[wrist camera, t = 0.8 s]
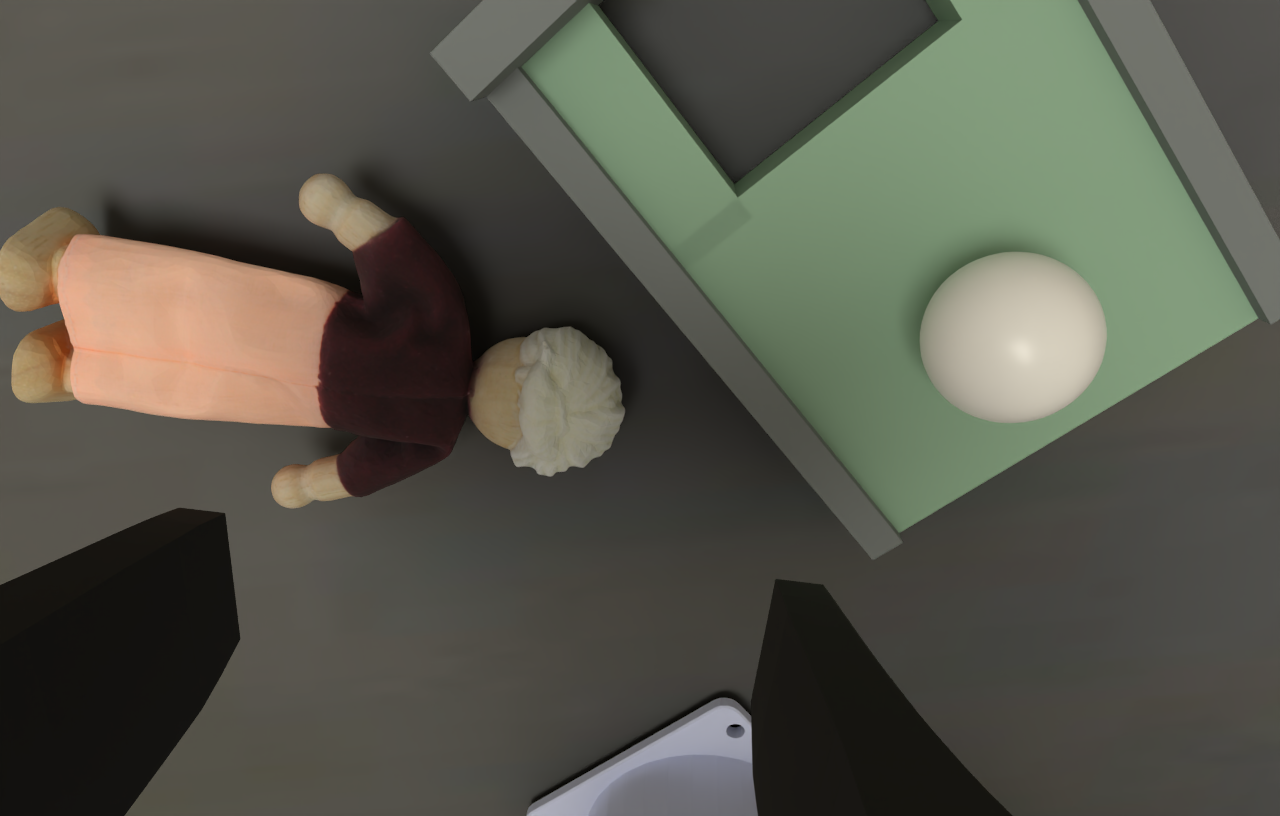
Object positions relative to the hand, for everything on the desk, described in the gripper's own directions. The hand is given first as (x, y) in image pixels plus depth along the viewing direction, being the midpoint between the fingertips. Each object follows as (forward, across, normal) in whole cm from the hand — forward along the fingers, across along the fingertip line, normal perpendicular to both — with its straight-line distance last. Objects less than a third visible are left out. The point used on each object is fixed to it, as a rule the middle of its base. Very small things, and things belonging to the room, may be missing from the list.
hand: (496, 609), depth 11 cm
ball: (+6, -8, -2) cm, 11 cm away
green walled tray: (+10, -6, -5) cm, 12 cm away
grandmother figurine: (+8, +12, -1) cm, 14 cm away
